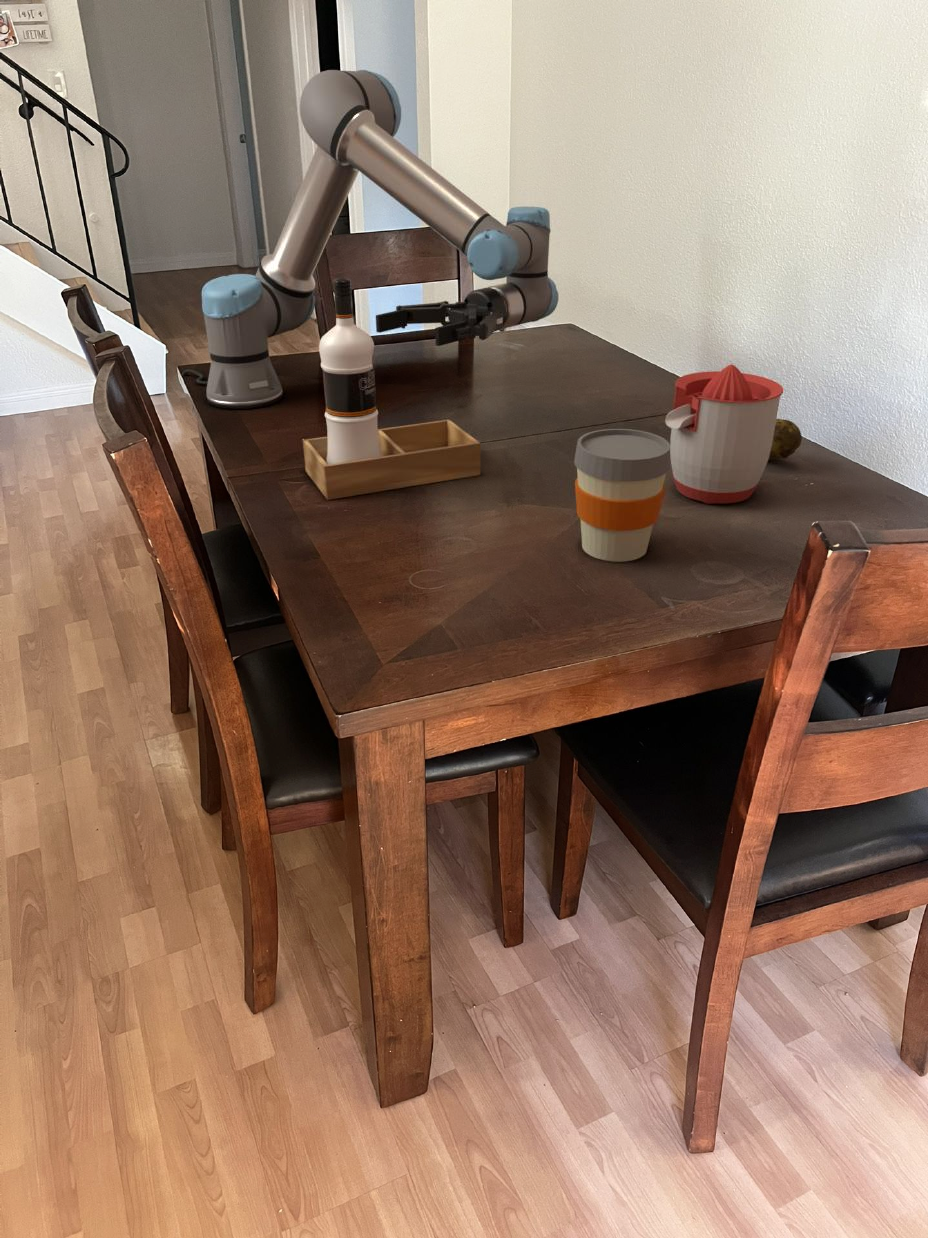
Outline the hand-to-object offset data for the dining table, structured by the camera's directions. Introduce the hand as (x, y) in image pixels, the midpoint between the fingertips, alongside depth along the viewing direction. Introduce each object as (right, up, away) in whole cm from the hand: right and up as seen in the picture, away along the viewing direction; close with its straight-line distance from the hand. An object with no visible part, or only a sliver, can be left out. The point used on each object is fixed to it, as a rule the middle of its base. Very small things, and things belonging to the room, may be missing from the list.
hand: (406, 330), depth 145 cm
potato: (+60, -20, +9) cm, 64 cm away
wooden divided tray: (-3, -22, +5) cm, 23 cm away
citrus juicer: (+48, -27, -3) cm, 55 cm away
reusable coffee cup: (+30, -37, -20) cm, 52 cm away
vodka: (-8, -23, +2) cm, 24 cm away
